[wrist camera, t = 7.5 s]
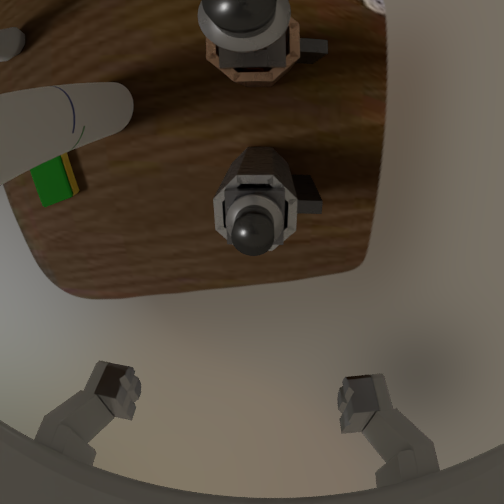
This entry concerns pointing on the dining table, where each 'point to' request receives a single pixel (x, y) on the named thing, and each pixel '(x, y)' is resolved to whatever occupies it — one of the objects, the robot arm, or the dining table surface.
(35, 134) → the cylindrical container
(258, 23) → the copper press plunger
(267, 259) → the dining table surface
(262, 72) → the copper press carafe
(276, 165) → the steel press carafe
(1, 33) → the salt shaker
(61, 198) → the dish sponge
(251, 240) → the steel press plunger
